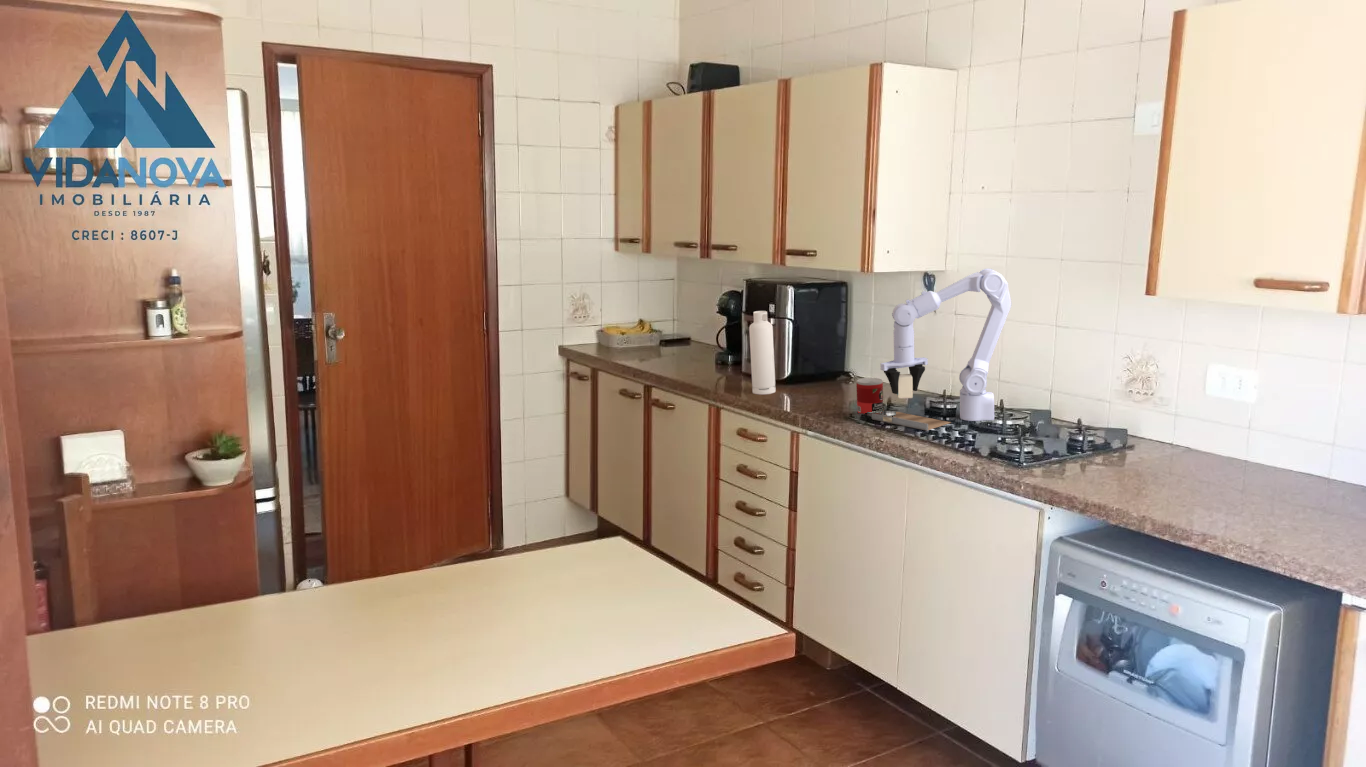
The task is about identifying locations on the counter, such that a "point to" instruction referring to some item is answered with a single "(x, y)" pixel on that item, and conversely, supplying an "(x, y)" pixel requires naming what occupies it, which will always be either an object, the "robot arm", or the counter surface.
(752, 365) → the bottle
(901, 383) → the carton
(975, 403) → the robot arm
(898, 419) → the shelf
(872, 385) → the canned food
